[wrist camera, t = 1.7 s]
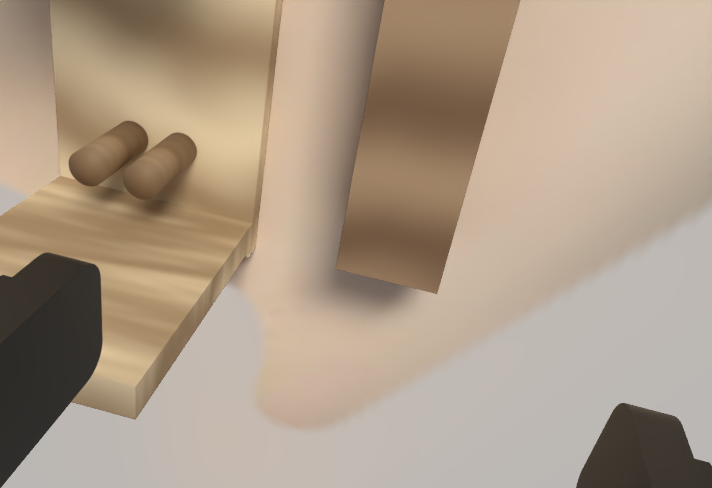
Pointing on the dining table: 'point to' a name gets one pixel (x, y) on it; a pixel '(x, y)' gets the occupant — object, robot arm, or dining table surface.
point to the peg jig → (152, 171)
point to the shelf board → (421, 135)
